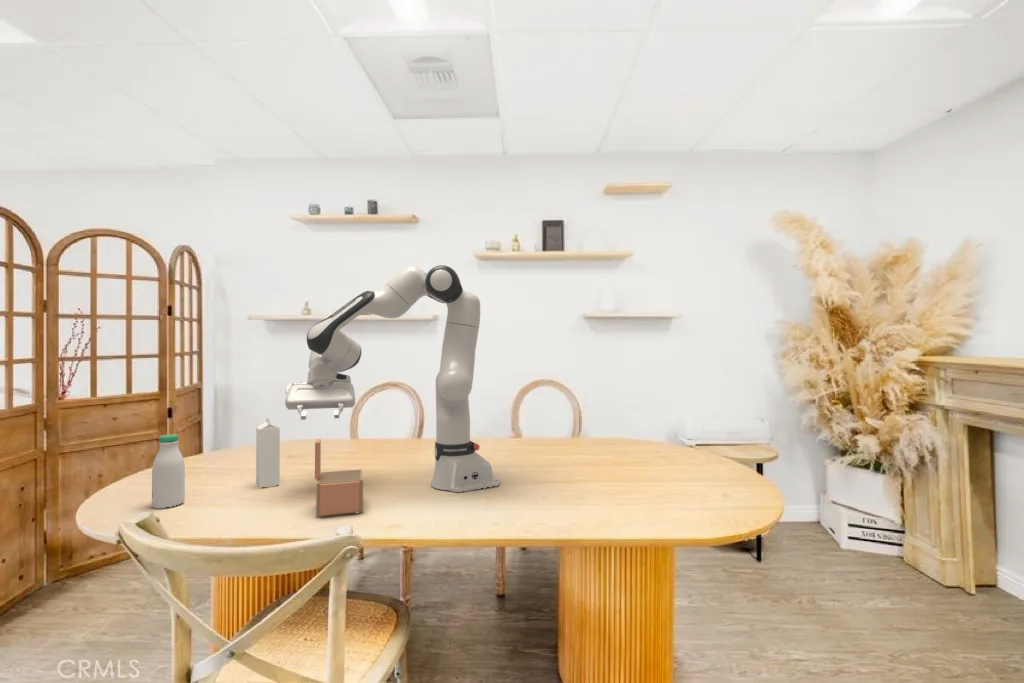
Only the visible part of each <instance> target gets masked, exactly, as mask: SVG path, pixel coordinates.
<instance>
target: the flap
mask: <svg viewBox="0 0 1024 683" xmlns="http://www.w3.org/2000/svg"><path fill="white" fill-rule="evenodd" d="M321 442H322V440H321V439H319V438H318V439H316V440H315V442H314V480H317V479H320V475H321V468H322V467H321V466H322V465H321V464H322V463H321V456H322V455H321V453H322V450H321V447H322V445H321Z"/></svg>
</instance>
